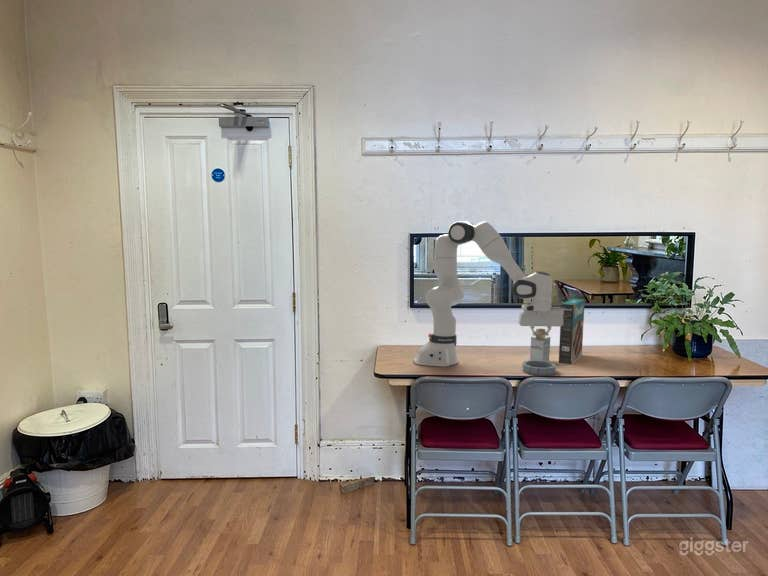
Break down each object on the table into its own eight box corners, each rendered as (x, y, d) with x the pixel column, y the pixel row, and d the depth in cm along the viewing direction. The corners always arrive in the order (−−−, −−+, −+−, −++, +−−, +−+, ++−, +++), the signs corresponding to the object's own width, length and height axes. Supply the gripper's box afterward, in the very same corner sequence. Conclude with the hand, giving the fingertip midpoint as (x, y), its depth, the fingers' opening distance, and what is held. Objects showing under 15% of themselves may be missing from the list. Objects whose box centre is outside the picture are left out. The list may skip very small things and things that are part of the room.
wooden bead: (536, 340, 249) (537, 330, 248) (534, 338, 253) (535, 328, 252) (545, 340, 249) (546, 330, 248) (543, 338, 253) (544, 328, 252)
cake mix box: (570, 364, 266) (573, 304, 262) (558, 362, 269) (561, 303, 265) (581, 355, 284) (584, 299, 280) (570, 353, 287) (572, 298, 283)
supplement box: (529, 360, 272) (530, 336, 271) (536, 358, 278) (537, 334, 276) (542, 363, 267) (543, 338, 266) (549, 360, 272) (550, 336, 271)
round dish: (526, 375, 246) (526, 368, 245) (519, 366, 261) (519, 359, 260) (559, 376, 245) (559, 368, 245) (550, 367, 260) (551, 360, 259)
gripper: (562, 305, 252) (561, 334, 253) (518, 305, 253) (517, 333, 254) (566, 307, 245) (564, 337, 247) (521, 307, 246) (520, 336, 248)
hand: (540, 335), depth 251 cm, fingers closed on wooden bead, 4 cm apart
